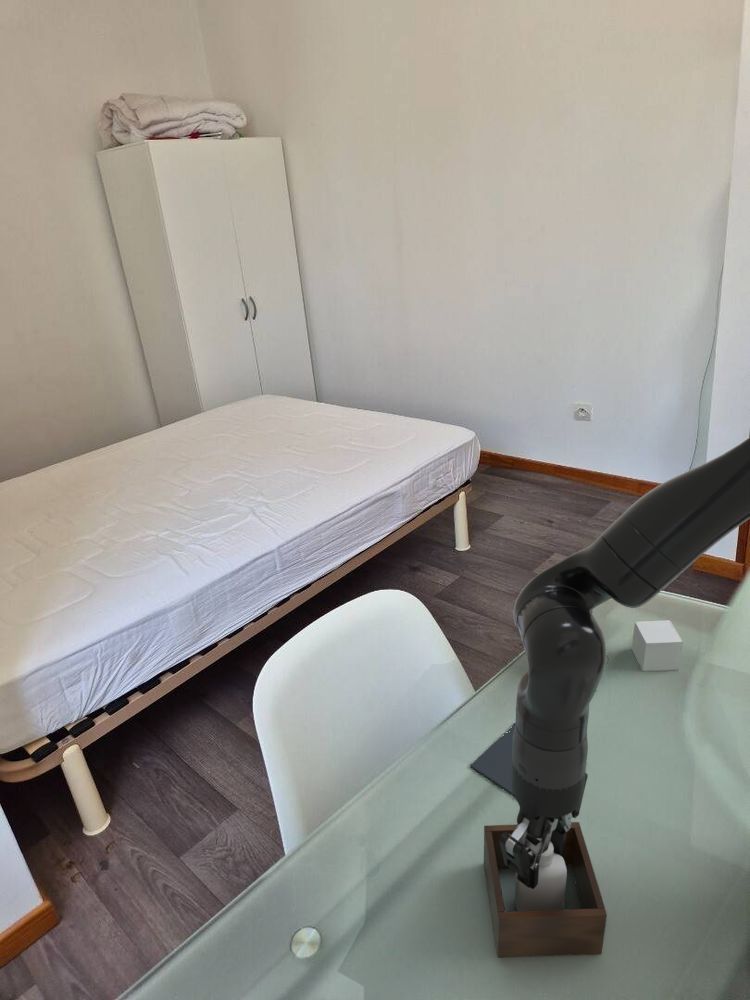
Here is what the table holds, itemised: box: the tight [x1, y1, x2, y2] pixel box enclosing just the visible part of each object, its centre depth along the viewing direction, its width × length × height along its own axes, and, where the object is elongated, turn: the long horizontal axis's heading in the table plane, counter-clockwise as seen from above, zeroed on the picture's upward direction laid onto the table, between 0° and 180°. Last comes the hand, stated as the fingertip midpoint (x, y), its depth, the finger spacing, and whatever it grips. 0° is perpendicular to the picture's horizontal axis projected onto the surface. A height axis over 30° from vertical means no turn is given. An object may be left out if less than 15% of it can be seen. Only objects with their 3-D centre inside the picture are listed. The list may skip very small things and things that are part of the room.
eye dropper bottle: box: [514, 838, 568, 911], centre depth 79 cm, size 4×6×12 cm
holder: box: [483, 821, 608, 958], centre depth 81 cm, size 12×12×7 cm
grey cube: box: [631, 619, 684, 672], centre depth 118 cm, size 6×6×6 cm
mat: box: [470, 724, 515, 797], centre depth 101 cm, size 12×12×1 cm
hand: (541, 864), depth 79 cm, fingers closed on eye dropper bottle, 5 cm apart
